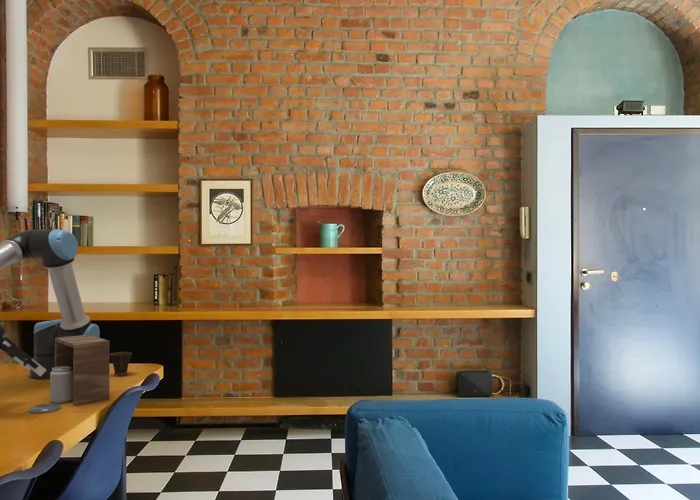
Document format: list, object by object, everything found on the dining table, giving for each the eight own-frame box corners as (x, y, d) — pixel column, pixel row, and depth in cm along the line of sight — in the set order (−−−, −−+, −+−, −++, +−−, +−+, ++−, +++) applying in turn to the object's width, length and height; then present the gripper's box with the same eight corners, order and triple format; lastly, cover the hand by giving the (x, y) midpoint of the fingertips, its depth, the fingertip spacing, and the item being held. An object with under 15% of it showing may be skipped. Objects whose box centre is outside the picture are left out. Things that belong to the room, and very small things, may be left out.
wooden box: (54, 395, 222) (55, 338, 222) (88, 390, 231) (88, 334, 231) (74, 405, 209) (74, 344, 208) (109, 399, 217) (109, 340, 217)
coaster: (23, 409, 204) (23, 407, 204) (54, 403, 211) (54, 401, 211) (33, 415, 197) (33, 413, 197) (65, 409, 204) (65, 407, 204)
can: (78, 399, 217) (78, 366, 217) (61, 404, 210) (61, 370, 210) (61, 397, 220) (61, 364, 219) (45, 402, 213) (45, 368, 212)
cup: (101, 374, 254) (105, 351, 255) (118, 373, 262) (122, 350, 262) (116, 378, 250) (120, 353, 250) (133, 376, 257) (136, 353, 258)
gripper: (-32, 335, 205) (17, 372, 215) (-12, 344, 187) (40, 385, 198) (-14, 318, 208) (33, 356, 219) (7, 325, 191) (57, 366, 201)
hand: (36, 369), depth 208 cm, fingers open, 13 cm apart
